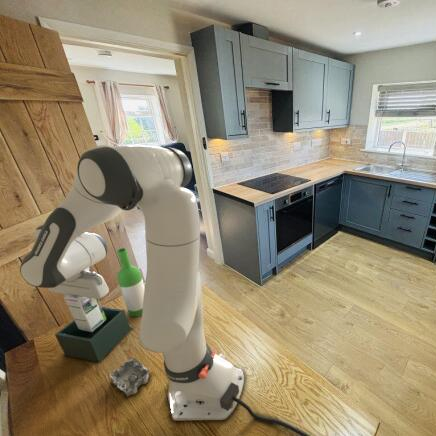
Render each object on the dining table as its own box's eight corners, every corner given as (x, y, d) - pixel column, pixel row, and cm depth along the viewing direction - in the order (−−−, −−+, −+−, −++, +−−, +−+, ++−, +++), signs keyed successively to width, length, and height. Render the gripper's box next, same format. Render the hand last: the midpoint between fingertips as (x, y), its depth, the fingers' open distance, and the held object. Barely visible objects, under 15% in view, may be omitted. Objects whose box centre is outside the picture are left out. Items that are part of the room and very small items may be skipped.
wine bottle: (139, 302, 105) (121, 243, 93) (154, 305, 104) (138, 246, 92) (124, 315, 98) (103, 253, 86) (140, 319, 97) (121, 256, 85)
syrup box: (92, 332, 81) (78, 299, 75) (77, 329, 82) (63, 296, 76) (107, 319, 86) (95, 287, 80) (93, 317, 87) (80, 285, 81)
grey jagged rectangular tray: (109, 381, 74) (105, 373, 73) (134, 362, 80) (131, 353, 79) (128, 400, 69) (124, 392, 68) (153, 378, 75) (150, 369, 74)
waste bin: (130, 329, 92) (124, 310, 88) (99, 362, 80) (90, 341, 76) (100, 324, 94) (93, 305, 90) (65, 355, 82) (54, 334, 78)
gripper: (107, 267, 76) (118, 301, 81) (54, 260, 79) (68, 293, 84) (89, 279, 70) (102, 314, 75) (32, 271, 73) (49, 305, 78)
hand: (84, 303), depth 80 cm, fingers closed on syrup box, 6 cm apart
